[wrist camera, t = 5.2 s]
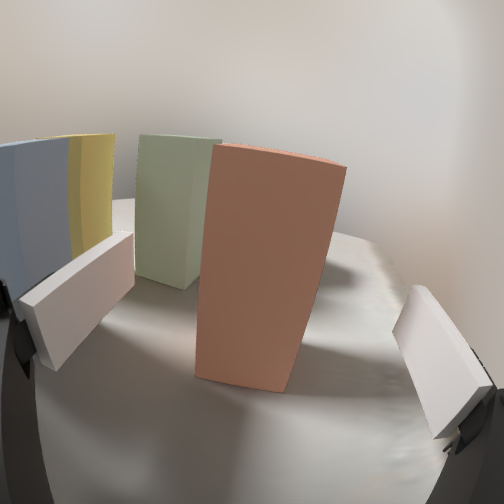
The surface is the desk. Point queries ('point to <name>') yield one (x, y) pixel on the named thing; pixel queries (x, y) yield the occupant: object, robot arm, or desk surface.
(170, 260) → the sage pillar
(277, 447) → the desk surface
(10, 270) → the slate pillar
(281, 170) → the terracotta pillar
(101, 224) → the mustard pillar
